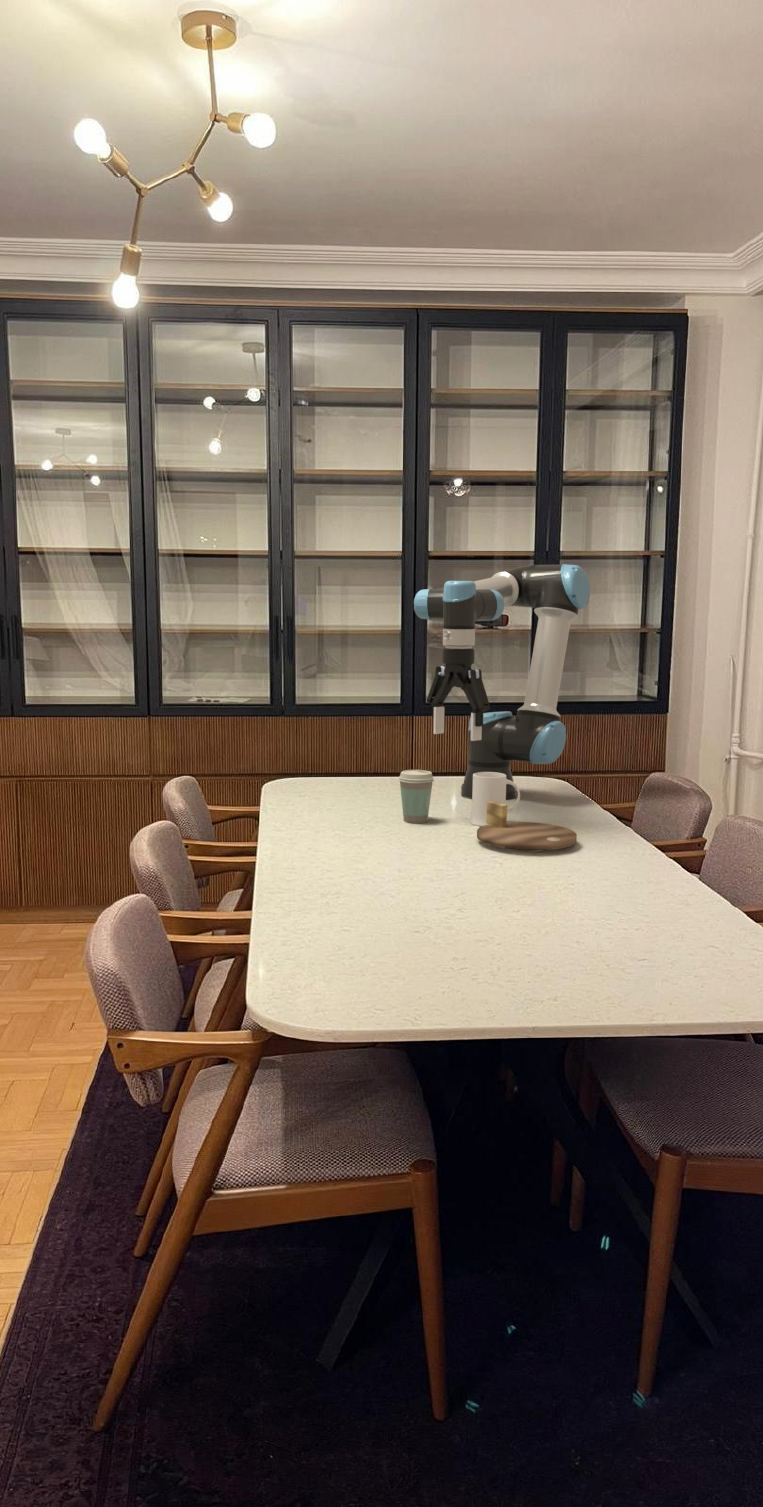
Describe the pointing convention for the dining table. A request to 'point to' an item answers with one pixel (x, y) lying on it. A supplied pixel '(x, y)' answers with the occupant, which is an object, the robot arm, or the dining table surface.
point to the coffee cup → (416, 794)
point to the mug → (488, 794)
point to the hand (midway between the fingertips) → (456, 737)
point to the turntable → (522, 832)
